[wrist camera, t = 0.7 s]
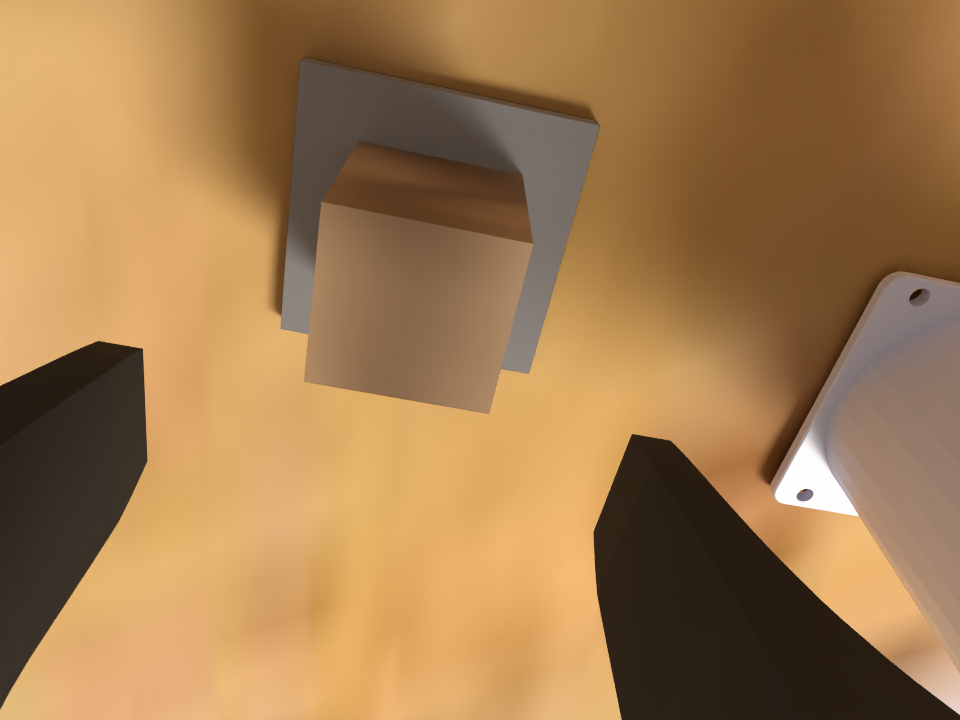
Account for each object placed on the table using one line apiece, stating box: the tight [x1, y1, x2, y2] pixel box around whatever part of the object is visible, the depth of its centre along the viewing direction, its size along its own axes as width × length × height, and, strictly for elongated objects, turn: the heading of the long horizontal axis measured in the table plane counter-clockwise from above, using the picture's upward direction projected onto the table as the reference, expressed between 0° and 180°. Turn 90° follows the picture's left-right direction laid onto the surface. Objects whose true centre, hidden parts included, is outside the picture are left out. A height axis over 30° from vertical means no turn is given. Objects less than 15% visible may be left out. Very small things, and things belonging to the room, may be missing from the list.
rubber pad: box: [281, 57, 600, 374], centre depth 18 cm, size 7×7×1 cm
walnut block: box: [304, 141, 533, 414], centre depth 16 cm, size 4×4×4 cm
